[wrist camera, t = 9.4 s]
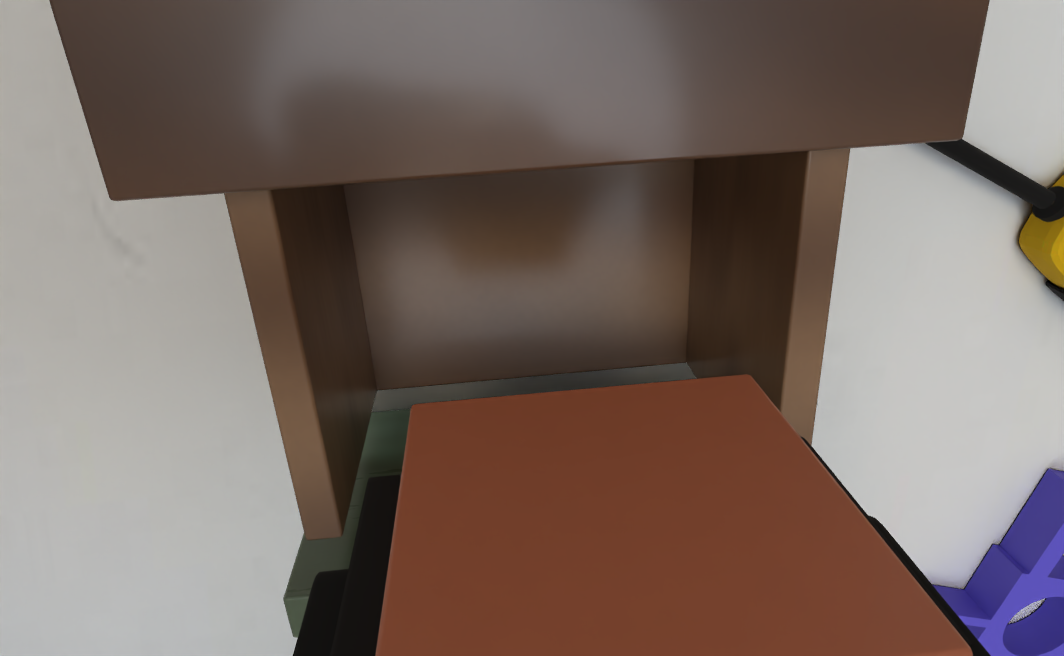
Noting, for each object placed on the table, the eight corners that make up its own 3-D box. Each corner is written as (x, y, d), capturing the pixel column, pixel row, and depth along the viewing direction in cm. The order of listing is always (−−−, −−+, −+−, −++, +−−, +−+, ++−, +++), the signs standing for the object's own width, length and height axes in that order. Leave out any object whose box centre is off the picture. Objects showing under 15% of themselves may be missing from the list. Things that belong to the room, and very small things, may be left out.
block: (446, 653, 12) (434, 1039, 7) (410, 402, 10) (362, 724, 5) (728, 621, 12) (885, 975, 8) (750, 371, 10) (978, 652, 6)
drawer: (710, 514, 25) (807, 707, 18) (366, 549, 24) (326, 766, 17) (746, -40, 18) (932, -82, 11) (257, -14, 17) (111, -40, 10)
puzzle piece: (1192, 496, 28) (1232, 522, 27) (1038, 700, 33) (1065, 733, 31) (989, 457, 26) (1020, 483, 25) (855, 679, 31) (875, 712, 29)
